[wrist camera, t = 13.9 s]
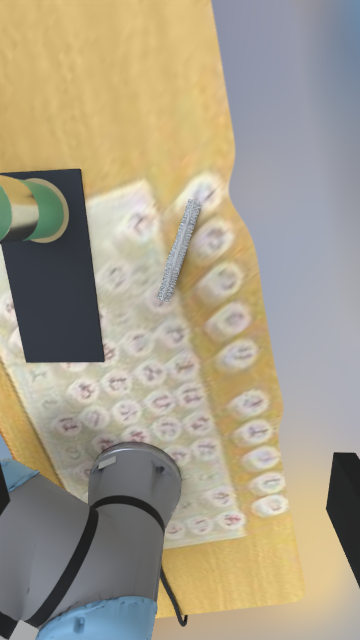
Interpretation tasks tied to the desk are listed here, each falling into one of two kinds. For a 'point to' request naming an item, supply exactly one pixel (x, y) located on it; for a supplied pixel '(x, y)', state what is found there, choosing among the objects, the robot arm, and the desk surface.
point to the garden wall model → (178, 250)
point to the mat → (56, 280)
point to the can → (27, 210)
